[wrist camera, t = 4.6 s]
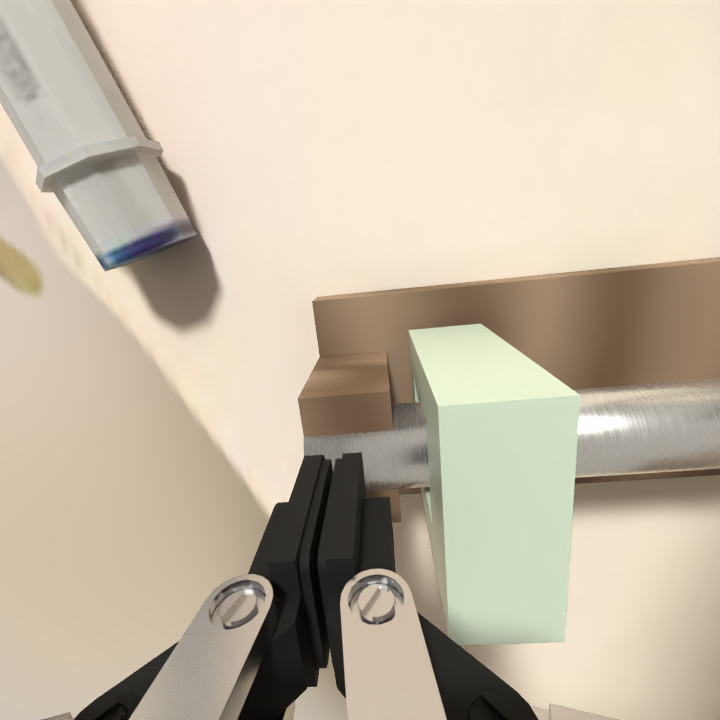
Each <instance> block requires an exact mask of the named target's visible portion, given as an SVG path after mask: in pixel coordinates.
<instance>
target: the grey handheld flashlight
mask: <svg viewBox="0 0 720 720" xmlns="http://www.w3.org/2000/svg"><path fill="white" fill-rule="evenodd" d="M0 103H1V104H2V106H3V108H4V110H5V111H6V113H7V115H8V116H9V118H10V120H11V121H12V123H13V125H14V127H15V128H16V130H17V132H18V133H19V135H20V137H21V138H22V140H23V142H24V143H25V145H26V147H27V149H28V150H29V152H30V154H31V155H32V157H33V159H34V160H35V162H36V164H37V166H38V169H37V178H36V184H37V186H38V187H39V189H40V190H41V192H54V193H55V195H56V196H57V198H58V199H59V201H60V202H61V204H62V205H63V207H64V209H65V210H66V212H67V213H68V215H69V216H70V218H71V219H72V221H73V222H74V224H75V226H76V227H77V229H78V230H79V232H80V233H81V235H82V236H83V238H84V239H85V241H86V243H87V244H88V246H89V247H90V249H91V250H92V252H93V253H94V255H95V256H96V258H97V260H98V261H99V263H100V264H101V266H102V267H103V269H104V270H105V271H108V270H111V269H114V268H117V267H121V266H124V265H127V264H129V263H132V262H135V261H137V260H140V259H142V258H145V257H148V256H150V255H153V254H155V253H157V252H160V251H162V250H164V249H167V248H169V247H172V246H174V245H176V244H179V243H181V242H183V241H186V240H188V239H190V238H192V237H194V236H195V235H197V233H196V231H195V229H194V227H193V225H192V223H191V221H190V219H189V218H188V216H187V214H186V212H185V210H184V208H183V206H182V204H181V202H180V201H179V199H178V197H177V195H176V193H175V191H174V189H173V187H172V185H171V184H170V182H169V180H168V178H167V176H166V174H165V172H164V170H163V168H162V167H161V165H160V163H159V161H158V159H157V158H158V157H159V156H160V155H161V153H162V152H163V149H162V147H161V145H160V143H159V142H157V141H153V140H149V139H147V138H146V137H145V135H144V133H143V131H142V129H141V128H140V126H139V124H138V122H137V120H136V118H135V117H134V115H133V113H132V111H131V109H130V108H129V106H128V104H127V102H126V100H125V98H124V97H123V95H122V93H121V91H120V89H119V88H118V86H117V84H116V82H115V80H114V78H113V77H112V75H111V73H110V71H109V69H108V68H107V66H106V64H105V62H104V60H103V59H102V57H101V55H100V53H99V51H98V49H97V48H96V46H95V44H94V42H93V40H92V39H91V37H90V35H89V33H88V31H87V29H86V28H85V26H84V24H83V22H82V20H81V19H80V17H79V15H78V13H77V11H76V9H75V8H74V6H73V4H72V2H71V0H0Z"/></svg>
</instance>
